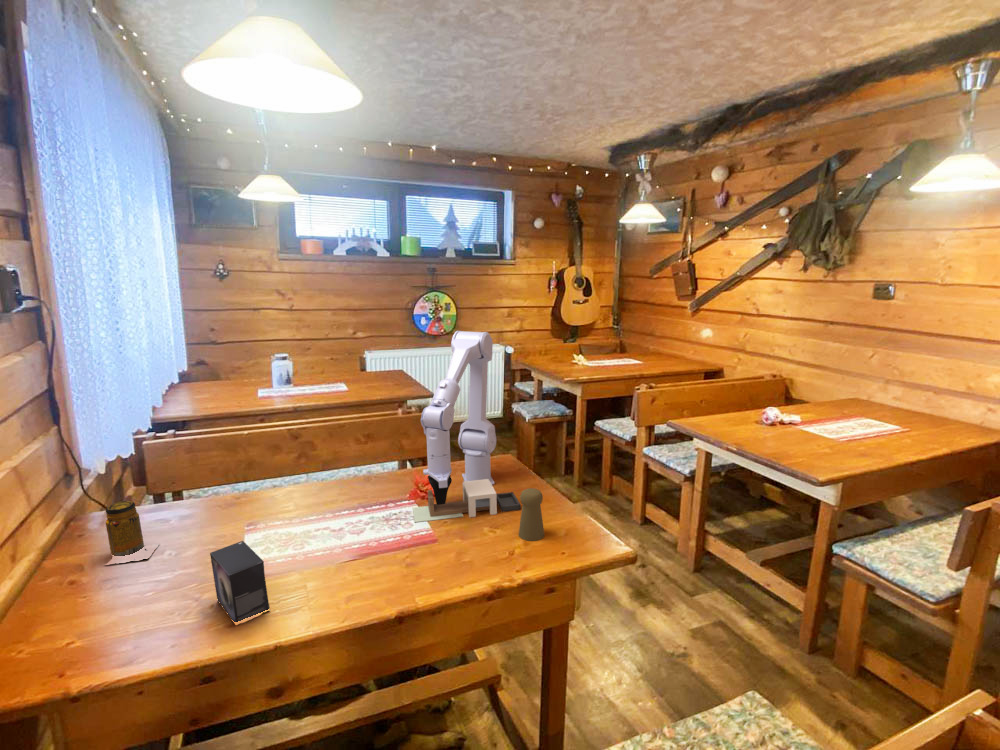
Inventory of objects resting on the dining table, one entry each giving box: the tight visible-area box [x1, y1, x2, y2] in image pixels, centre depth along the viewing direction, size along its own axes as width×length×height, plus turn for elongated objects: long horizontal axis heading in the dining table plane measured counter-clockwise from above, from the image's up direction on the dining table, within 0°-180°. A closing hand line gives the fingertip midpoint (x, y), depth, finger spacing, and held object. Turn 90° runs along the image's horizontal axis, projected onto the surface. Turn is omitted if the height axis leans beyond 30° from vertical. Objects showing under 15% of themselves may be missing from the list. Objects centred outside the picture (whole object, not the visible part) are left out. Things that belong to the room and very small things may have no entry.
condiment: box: [105, 500, 145, 556], centre depth 118 cm, size 7×8×12 cm
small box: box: [209, 540, 271, 622], centre depth 100 cm, size 11×6×10 cm, turn 45°
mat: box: [412, 505, 464, 523], centre depth 137 cm, size 8×12×1 cm, turn 103°
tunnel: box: [462, 479, 498, 518], centre depth 139 cm, size 10×7×6 cm
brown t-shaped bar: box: [427, 489, 490, 517], centre depth 138 cm, size 5×17×5 cm, turn 103°
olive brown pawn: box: [518, 487, 545, 542], centre depth 124 cm, size 6×6×11 cm
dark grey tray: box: [496, 491, 522, 513], centre depth 141 cm, size 8×5×1 cm, turn 13°
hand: (440, 503), depth 137 cm, fingers closed
